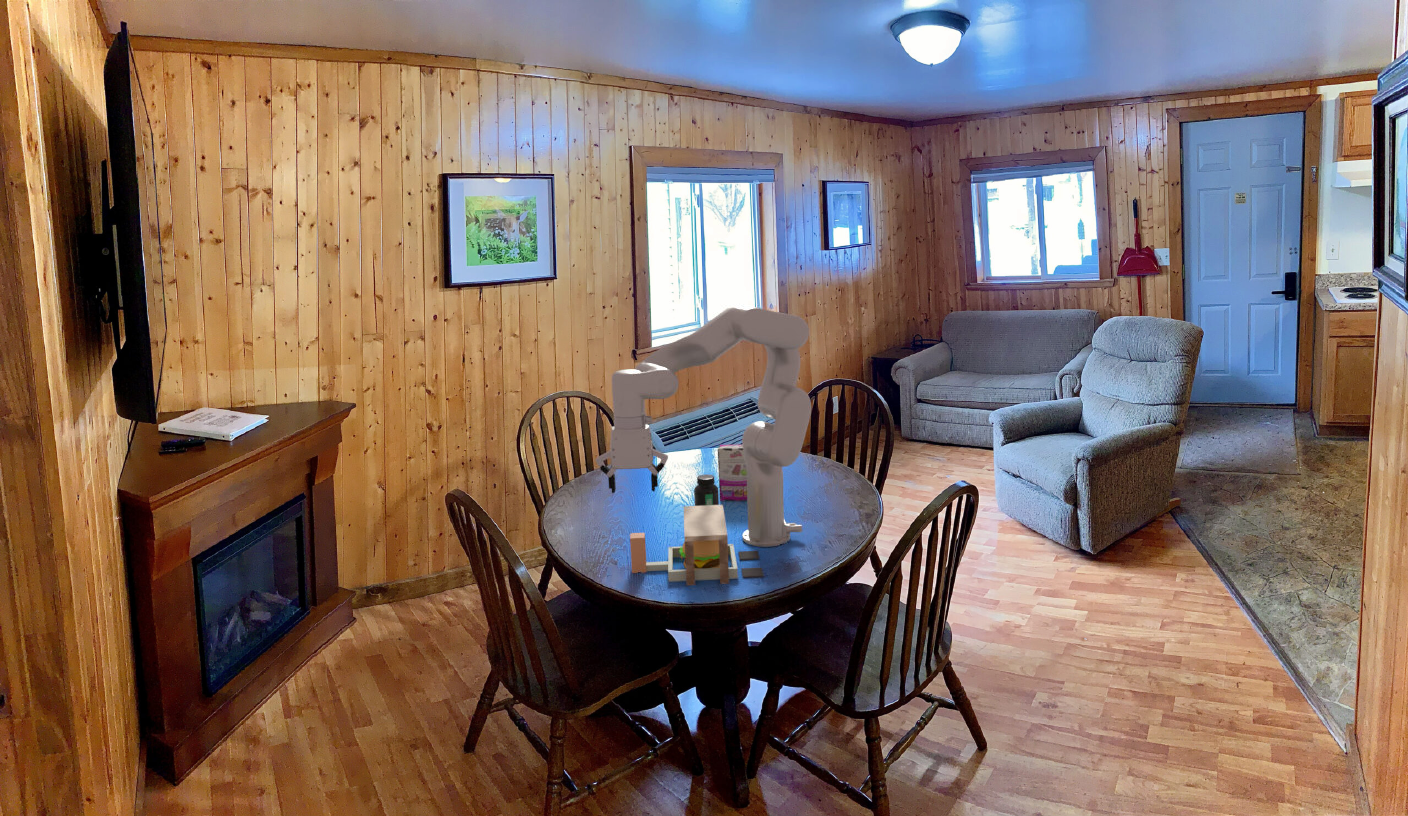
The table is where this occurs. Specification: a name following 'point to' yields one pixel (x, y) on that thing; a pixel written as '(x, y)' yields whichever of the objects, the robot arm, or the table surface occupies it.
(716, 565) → the hamburger
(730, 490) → the candy bar box
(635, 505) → the table surface
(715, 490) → the supplement bottle
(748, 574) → the pit square
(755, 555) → the pit square
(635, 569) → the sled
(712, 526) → the tunnel
